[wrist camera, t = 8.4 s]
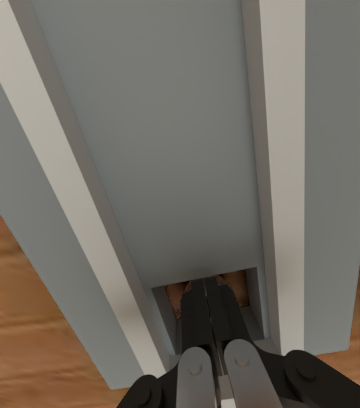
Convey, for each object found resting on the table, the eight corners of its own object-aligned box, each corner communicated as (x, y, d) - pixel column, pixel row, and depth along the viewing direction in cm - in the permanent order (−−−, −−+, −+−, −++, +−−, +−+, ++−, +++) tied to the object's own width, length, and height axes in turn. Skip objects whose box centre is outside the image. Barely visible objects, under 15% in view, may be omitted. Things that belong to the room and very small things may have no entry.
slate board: (-57, 18, 10) (-392, -150, 4) (341, -106, 8) (684, -604, 3) (120, 351, 19) (97, 444, 13) (320, 315, 18) (388, 399, 12)
